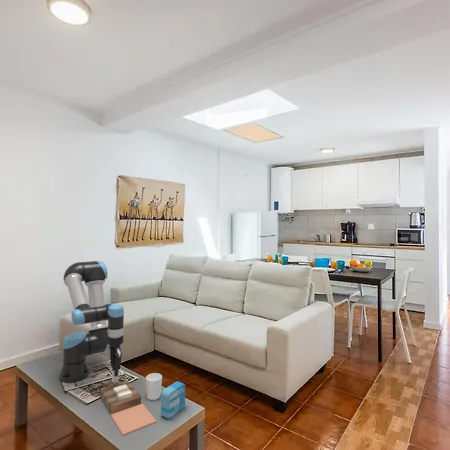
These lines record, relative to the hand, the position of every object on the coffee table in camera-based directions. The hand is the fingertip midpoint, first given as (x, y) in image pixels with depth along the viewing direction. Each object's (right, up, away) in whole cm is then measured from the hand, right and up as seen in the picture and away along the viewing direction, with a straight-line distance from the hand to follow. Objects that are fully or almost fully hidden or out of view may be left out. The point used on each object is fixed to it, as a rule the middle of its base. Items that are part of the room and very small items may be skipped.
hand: (115, 381), depth 164 cm
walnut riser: (+4, -6, -6) cm, 10 cm away
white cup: (+20, -7, -2) cm, 21 cm away
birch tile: (+6, -3, -9) cm, 11 cm away
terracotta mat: (+15, -7, -20) cm, 26 cm away
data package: (+32, -8, -14) cm, 36 cm away
